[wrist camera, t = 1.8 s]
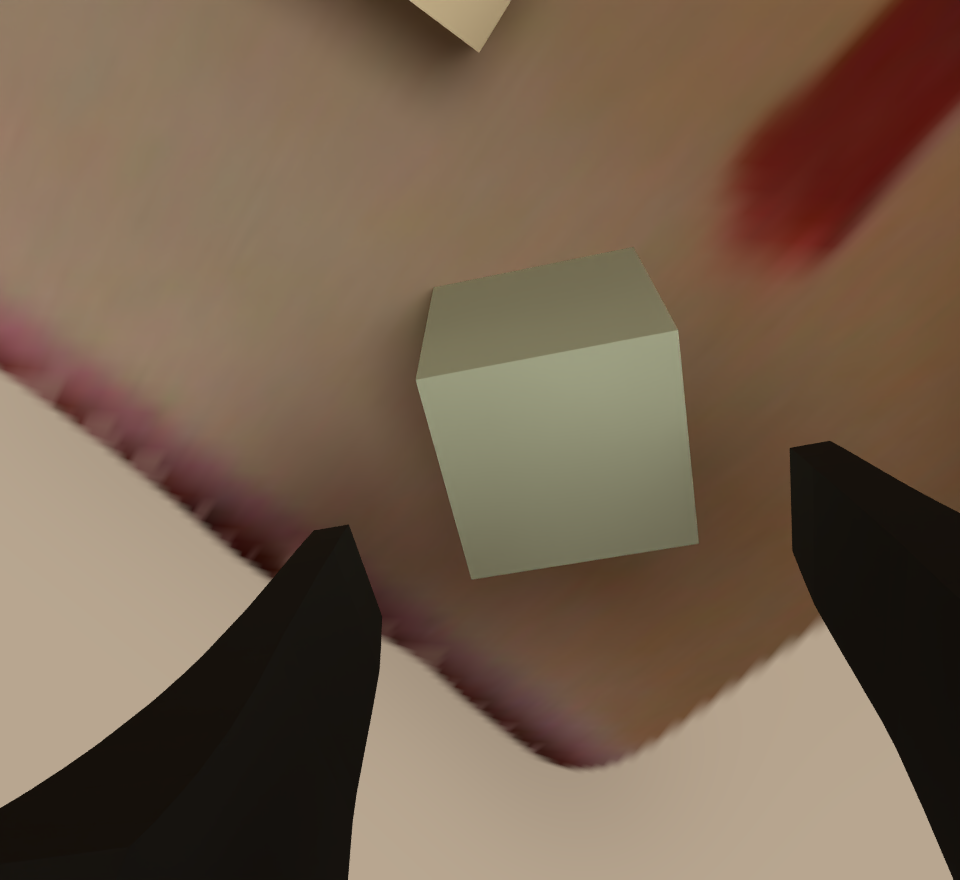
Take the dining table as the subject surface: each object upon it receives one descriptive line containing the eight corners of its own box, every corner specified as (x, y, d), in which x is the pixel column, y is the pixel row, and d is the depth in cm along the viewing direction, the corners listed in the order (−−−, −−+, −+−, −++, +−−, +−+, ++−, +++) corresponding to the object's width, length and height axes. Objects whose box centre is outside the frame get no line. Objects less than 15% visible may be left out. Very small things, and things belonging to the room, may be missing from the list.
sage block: (633, 246, 18) (677, 329, 14) (654, 422, 20) (699, 543, 16) (433, 286, 18) (415, 379, 14) (475, 454, 21) (471, 579, 16)
